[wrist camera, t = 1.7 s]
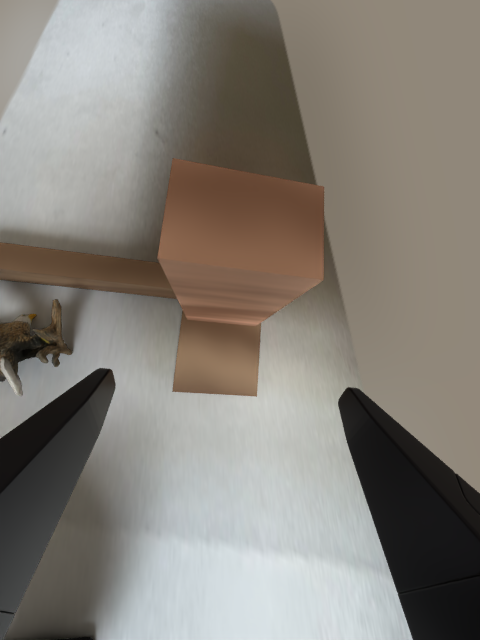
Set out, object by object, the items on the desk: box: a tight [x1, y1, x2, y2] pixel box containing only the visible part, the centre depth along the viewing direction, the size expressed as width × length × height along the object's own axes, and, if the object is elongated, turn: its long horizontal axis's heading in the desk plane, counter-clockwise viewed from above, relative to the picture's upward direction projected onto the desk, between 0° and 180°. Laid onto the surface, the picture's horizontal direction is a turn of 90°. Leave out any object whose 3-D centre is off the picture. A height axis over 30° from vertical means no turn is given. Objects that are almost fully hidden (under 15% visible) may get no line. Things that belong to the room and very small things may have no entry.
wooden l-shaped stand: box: [0, 158, 324, 396], centre depth 13 cm, size 10×24×13 cm, turn 86°
